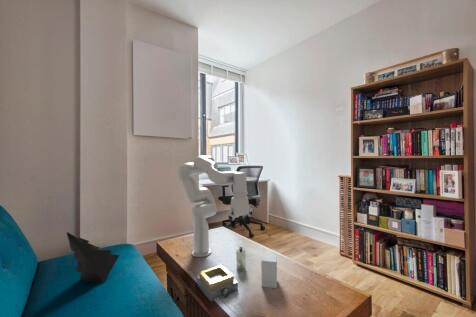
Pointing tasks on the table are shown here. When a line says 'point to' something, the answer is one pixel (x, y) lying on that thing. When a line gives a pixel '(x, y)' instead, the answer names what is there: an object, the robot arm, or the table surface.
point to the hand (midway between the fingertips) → (240, 225)
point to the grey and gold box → (216, 282)
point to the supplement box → (269, 271)
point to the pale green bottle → (241, 259)
